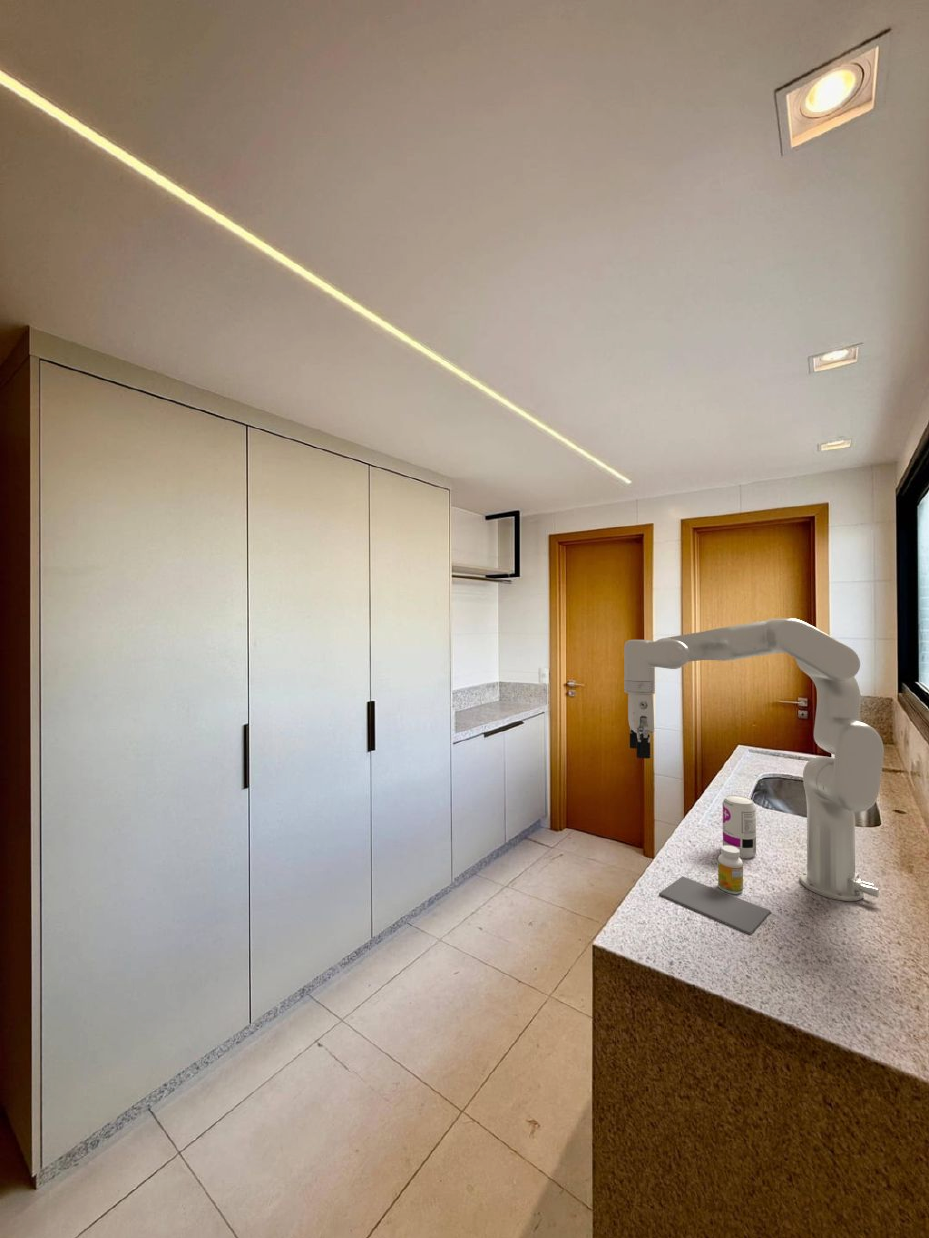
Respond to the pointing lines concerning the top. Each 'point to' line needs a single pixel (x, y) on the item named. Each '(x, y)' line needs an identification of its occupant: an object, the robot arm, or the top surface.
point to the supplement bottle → (730, 870)
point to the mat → (716, 904)
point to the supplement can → (740, 824)
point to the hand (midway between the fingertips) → (639, 752)
